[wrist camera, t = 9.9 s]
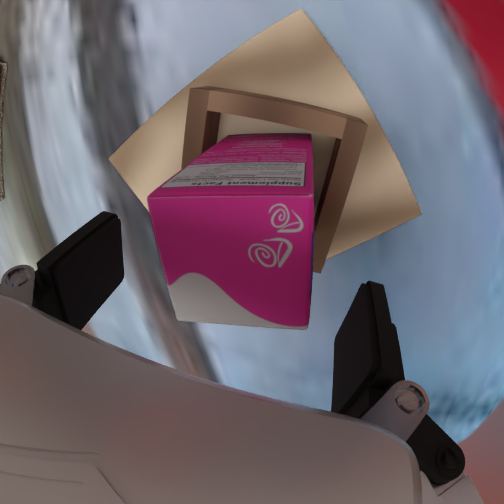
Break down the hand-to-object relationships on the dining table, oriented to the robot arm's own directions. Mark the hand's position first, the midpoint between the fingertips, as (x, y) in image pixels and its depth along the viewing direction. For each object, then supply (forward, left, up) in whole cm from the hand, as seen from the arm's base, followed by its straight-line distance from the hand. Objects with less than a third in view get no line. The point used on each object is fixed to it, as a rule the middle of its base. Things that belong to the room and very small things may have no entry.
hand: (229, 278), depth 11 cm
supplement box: (0, 0, -12) cm, 11 cm away
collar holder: (+1, 0, -12) cm, 12 cm away
